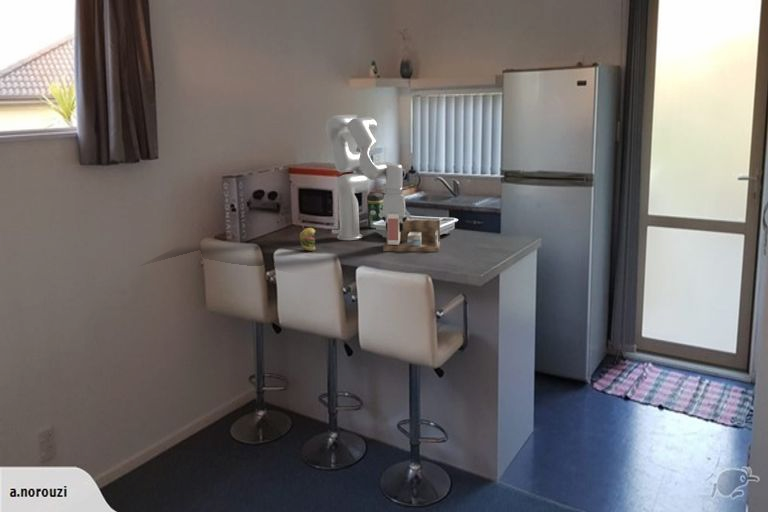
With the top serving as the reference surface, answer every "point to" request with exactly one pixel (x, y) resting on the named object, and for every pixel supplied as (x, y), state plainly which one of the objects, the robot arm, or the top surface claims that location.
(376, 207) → the coffee jar
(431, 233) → the shelf
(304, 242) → the hamburger
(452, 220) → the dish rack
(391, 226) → the boxed book
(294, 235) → the top surface
